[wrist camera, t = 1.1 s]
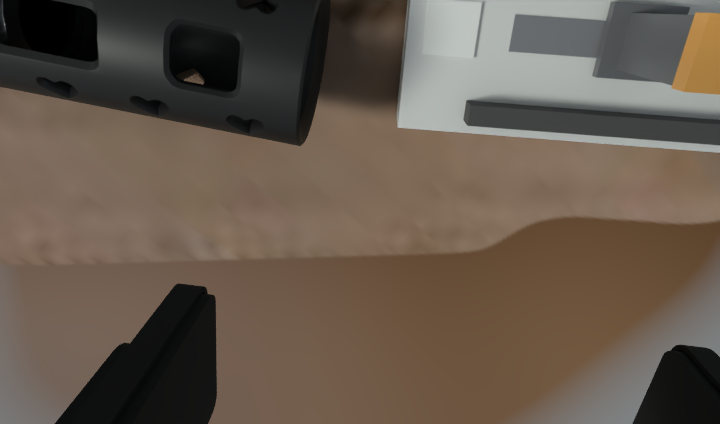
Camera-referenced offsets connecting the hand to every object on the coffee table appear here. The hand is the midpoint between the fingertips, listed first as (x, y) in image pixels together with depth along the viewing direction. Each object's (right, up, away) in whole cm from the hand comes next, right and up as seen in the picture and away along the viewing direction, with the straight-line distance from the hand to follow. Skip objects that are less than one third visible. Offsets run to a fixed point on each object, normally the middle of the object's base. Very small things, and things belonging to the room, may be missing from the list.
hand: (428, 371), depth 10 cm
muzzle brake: (-17, +17, +22) cm, 33 cm away
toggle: (+14, +13, +17) cm, 26 cm away
